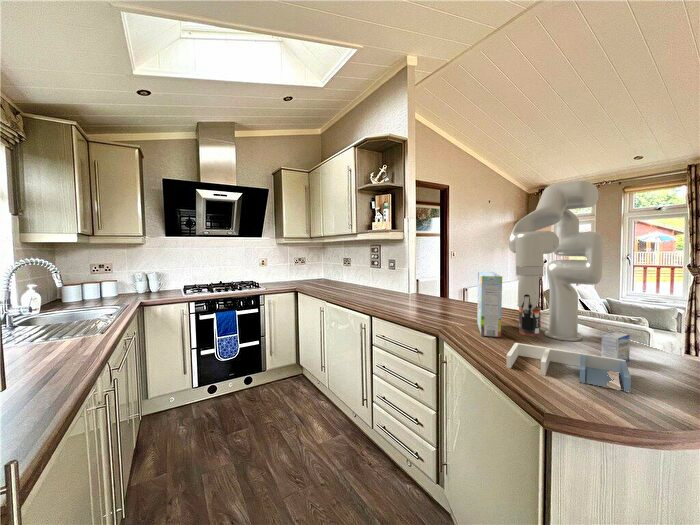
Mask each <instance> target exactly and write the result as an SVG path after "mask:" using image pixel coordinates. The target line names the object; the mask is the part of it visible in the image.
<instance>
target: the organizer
mask: <svg viewBox="0 0 700 525" xmlns="http://www.w3.org/2000/svg"><path fill="white" fill-rule="evenodd" d="M518 357H524V358H531V359H536V360H540V375H541V376H546V375H547V372H548V370H549V366H550V362H552V363H557V364H563V365H569V366H574V365H575V366H574V367H579V383H580V382H581V383H580V384H583V383H585V384H587V383H588V384H587V385H589V384H593V385H592V386H594V385H598V386H597V387H599V386H603V387H605V386H606V385H607V382H608V383H609V381H611V380H612V379H611V378H610V377H609V375H608V373H607V372H609V371H613V372H620V374H619V376H620V375H621V376H620V380H621V379H622V380H621V384H622V383H623V385H622V388H623V387H624V389H623V391H629V392H632V390H631V388H632V386H631V385H632V378H631V372H630V370H629V368H628V364H627V361H626V360H622V359H616V358H609V357H603V356H602V355H597V354H596V355H595V354H589V353H584V352H578V351H577V352H576V351H570V350H564V349H557V348H551V347H545V346H539V345H533V344H527V343H526V344H525V343H520V342H515V343H514V344H513V345H512V347H511V348H510V350H509V351H508V352H507V354H506V359H505V360H506V361H505V363H506V368H507V369H512V367H513V365H514V364H515V362H516V360H517V358H518ZM607 375H608V376H607ZM613 380H614V379H613ZM613 380H612V381H613ZM603 387H602V388H603Z"/></svg>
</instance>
